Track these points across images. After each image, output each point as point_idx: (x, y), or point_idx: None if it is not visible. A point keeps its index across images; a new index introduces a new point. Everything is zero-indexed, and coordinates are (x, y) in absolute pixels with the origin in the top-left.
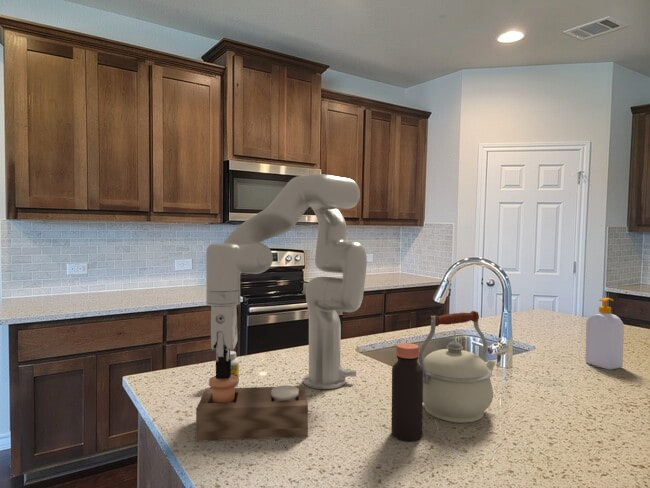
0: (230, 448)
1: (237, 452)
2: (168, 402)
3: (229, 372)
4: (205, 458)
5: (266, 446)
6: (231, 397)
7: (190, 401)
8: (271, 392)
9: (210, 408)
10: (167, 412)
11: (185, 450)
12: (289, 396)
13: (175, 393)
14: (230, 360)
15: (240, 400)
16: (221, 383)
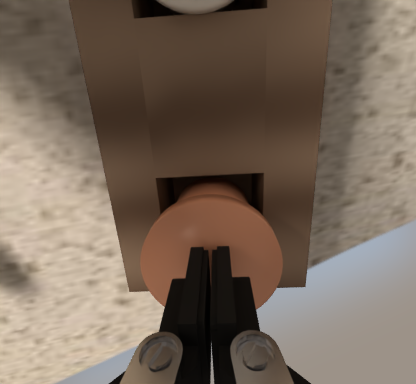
0: (328, 150)
1: (353, 129)
2: (77, 329)
3: (230, 265)
4: (365, 199)
5: (337, 48)
6: (237, 196)
7: (62, 290)
8: (217, 2)
9: (308, 248)
10: (131, 319)
11: (318, 246)
12: None
13: (22, 328)
14: (195, 319)
15: (245, 158)
16: (276, 267)
